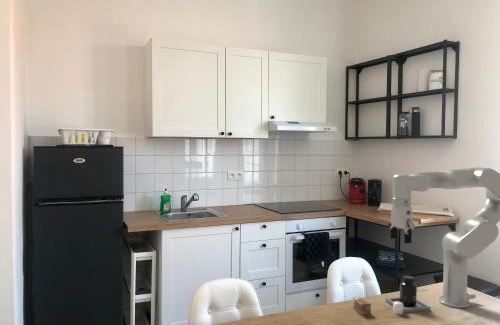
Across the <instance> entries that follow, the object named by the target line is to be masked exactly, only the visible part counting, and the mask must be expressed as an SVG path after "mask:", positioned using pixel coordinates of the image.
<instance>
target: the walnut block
mask: <svg viewBox="0 0 500 325" xmlns="http://www.w3.org/2000/svg"><path fill="white" fill-rule="evenodd" d="M354 310H355V312H356V313H357V314H358V315H360V316H367V315H371V314H372V313H371V312H372V303H370V302H369V301H368V300H366V299H363V300H356V306H355V309H354Z"/></svg>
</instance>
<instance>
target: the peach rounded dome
mask: <svg viewBox="0 0 500 325" xmlns="http://www.w3.org/2000/svg"><path fill="white" fill-rule="evenodd" d="M356 300H364V299H363V297H361V296H353V297H352V308H353V309H354V310H355V306H356Z"/></svg>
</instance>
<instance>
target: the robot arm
mask: <svg viewBox="0 0 500 325" xmlns="http://www.w3.org/2000/svg"><path fill="white" fill-rule="evenodd" d="M468 188H469V189H470V188H484V189H485V190H486V191H485V204H484V206H482V208H481V209H480V210H478V211H477V212H476V213H474V214H473V215H472V216H471V217H469V218H468V219H467V220H466V221H465V222H464V223H463V226H462V228H463V232H464V233H461V232H459V231H449V232H446V234H444V236H443V238H442V245H441V246H442V250H443V251H442V252H443V277H442V278H443V280H442V284H443V285H442V295H441V296H439V297H438V302H439V303H441V304H442V305H445V306H447V307H450V308H456V309H458V308H459V309H467V308H469V307H471V301H470V299H471V300H472V299H476V298H477V295H476V294H475V293H470V294H469V293H468V274H469V273H468V272H469V271H468V268H469V264H468V263H469V262H468V260H469V259H473V258H475V257H477V256H478V255H479V254H480V253H481V252H483V251H484V250H485V249H486V250H487V248H488V247H489V246H490V245H491V244H493V243H494V242H495V241H496V240H497V238H498V236H499V232H500V231H499V227H498V225H497V224H498V223H500V173H499V171H497V170H496V169H493V168H489V167H471V168H470V167H469V168H461V169H460V168H459V169H449V170H448V169H446V170H440V171H439V170H438V171H427V172H426V171H425V172H417V173H411V174H399V173H398V174H394V175H393V177H392V204H391V205H392V206H391V210H390V211H391V212H390V214H391V215H390V217H389V218H388V219H387V222H388V225H389V229H390V239H391V240H392V239H397V238H398V229H400V230H401V229H403V231H404V235H403V236H404V242H403V243H404V244H411V243H412V235H413V234H414V231H415V229H416V224H415V223H414V215H413V207H412V205H411V202H412V200H411V199H412V198H411V197H412V191H413V192H419V193H423V192H426V191H429V190H430V189H442V190H458V189H468Z"/></svg>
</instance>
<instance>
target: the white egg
mask: <svg viewBox="0 0 500 325" xmlns="http://www.w3.org/2000/svg"><path fill="white" fill-rule="evenodd" d="M392 313H393V314H394V315H403V314H404V313H403V303H402V302H398V301H395V302H393V306H392Z"/></svg>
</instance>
